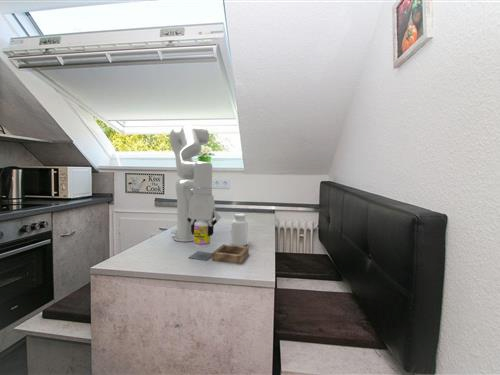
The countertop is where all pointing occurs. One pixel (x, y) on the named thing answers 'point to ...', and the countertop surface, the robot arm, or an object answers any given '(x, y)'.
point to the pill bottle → (239, 230)
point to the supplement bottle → (201, 233)
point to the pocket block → (231, 258)
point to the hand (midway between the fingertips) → (202, 234)
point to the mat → (201, 255)
